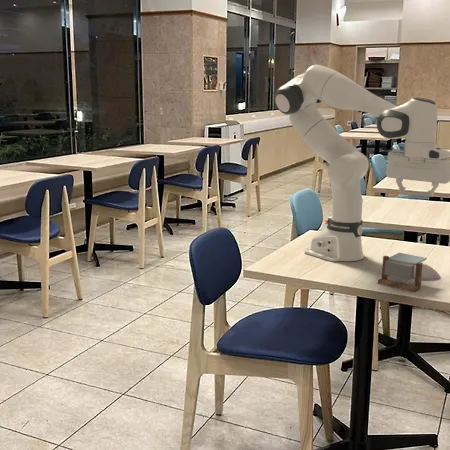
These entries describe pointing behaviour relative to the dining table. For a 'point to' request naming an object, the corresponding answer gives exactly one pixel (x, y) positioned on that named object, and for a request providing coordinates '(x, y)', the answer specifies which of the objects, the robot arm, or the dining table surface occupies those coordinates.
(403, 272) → the trapdoor
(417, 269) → the frame
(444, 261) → the dining table surface
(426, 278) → the seashell
